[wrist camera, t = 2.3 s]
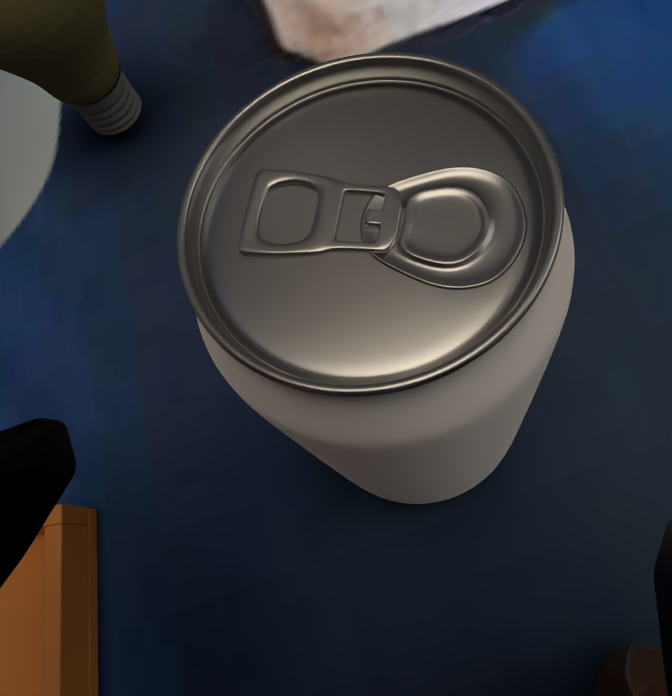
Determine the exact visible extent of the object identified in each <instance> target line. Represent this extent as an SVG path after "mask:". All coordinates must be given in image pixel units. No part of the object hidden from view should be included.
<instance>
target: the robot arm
mask: <svg viewBox="0 0 672 696" xmlns="http://www.w3.org/2000/svg"><path fill="white" fill-rule="evenodd" d="M75 468H76V461H75V457H74V453H73V449H72V445H71V441H70V437H69V434H68V430H67V427H66V426H65V425H64V423H62V422H60V421H57V420H51V419H45V418H37V419H34V420H31V421H28V422H25V423H22V424H19V425H17V426H14V427H11V428H8V429H5V430H2V431H0V588H1V587H2V585H3V584H4V583H5V581H6V580H7V579H8V577H9V576H10V575H11V573H12V572H13V571H14V569H15V568H16V567H17V565H18V564H19V562H20V561H21V560H22V558H23V557H24V555H25V554H26V552H27V551H28V549H29V547H30V546H31V544H32V543H33V541H34V540H35V538H36V536H37V535H38V533H39V531H40V530H41V528H42V526H43V525H44V523H45V522H46V520H47V518H48V517H49V515H50V513H51V512H52V510H53V508H54V507H55V505H56V504H57V502H58V500H59V499H60V497H61V495H62V494H63V492H64V491H65V489H66V487H67V486H68V484H69V482H70V481H71V479H72V477H73V475H74V472H75ZM654 584H655V593H656V602H657V610H658V619H659V627H660V636H661V645H662V653H663V662H664V670H665V679H666V686H667V693H668V696H672V519H671V520H670V521H669V523H668V525H667V527H666V530H665V534H664V537H663V540H662V543H661V546H660V550H659V553H658V556H657V559H656V563H655V568H654Z"/></svg>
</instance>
